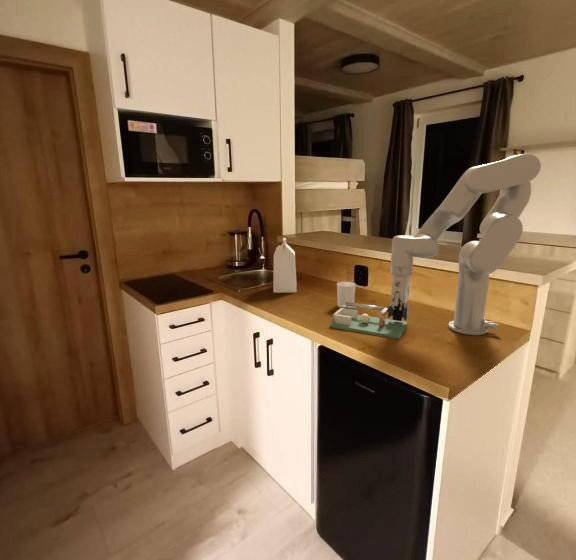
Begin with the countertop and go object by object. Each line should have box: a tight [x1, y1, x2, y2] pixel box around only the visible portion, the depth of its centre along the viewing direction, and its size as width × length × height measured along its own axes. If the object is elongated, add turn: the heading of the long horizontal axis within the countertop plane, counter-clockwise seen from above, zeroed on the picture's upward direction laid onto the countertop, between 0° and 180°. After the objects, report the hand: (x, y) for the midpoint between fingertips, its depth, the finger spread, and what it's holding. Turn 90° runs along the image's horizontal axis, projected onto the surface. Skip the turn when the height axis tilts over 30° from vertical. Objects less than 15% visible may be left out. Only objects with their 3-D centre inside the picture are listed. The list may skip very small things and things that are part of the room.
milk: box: [272, 237, 298, 294], centre depth 181 cm, size 12×12×26 cm
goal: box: [332, 307, 359, 325], centre depth 136 cm, size 7×9×3 cm
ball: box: [360, 313, 370, 323], centre depth 133 cm, size 4×4×4 cm
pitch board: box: [329, 305, 409, 340], centre depth 133 cm, size 25×15×4 cm, turn 62°
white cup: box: [336, 281, 357, 309], centre depth 155 cm, size 8×8×10 cm
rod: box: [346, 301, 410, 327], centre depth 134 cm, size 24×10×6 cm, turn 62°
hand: (398, 318), depth 133 cm, fingers closed on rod, 3 cm apart
